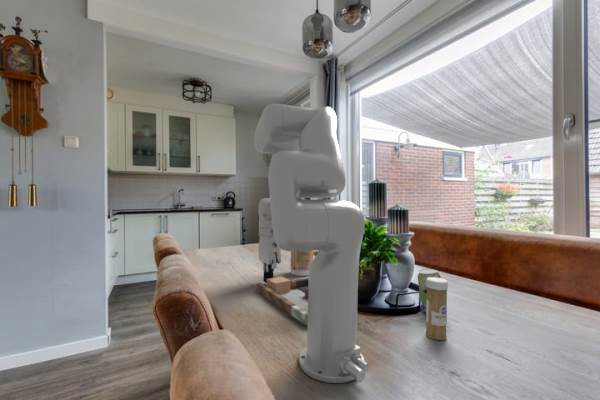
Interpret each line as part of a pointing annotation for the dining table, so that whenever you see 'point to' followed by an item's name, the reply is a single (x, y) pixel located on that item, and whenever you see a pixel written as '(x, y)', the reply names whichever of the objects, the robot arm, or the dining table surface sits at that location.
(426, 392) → the dining table surface
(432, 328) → the sprinkles bottle
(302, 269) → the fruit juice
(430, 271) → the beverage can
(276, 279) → the block
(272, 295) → the trap lane
